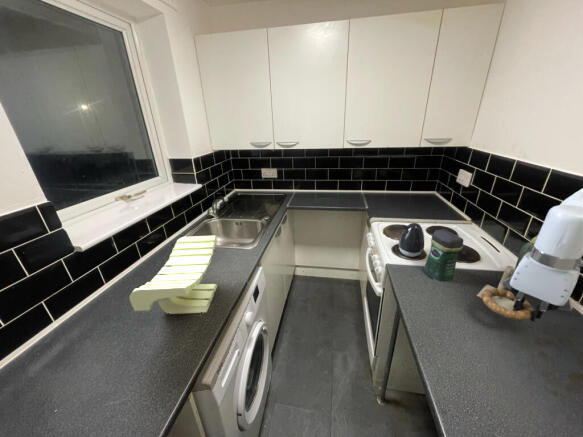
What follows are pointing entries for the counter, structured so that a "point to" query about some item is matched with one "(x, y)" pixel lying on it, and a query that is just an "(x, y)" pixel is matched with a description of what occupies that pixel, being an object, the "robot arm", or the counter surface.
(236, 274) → the counter surface
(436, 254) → the coffee jar
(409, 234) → the black egg shaped dome
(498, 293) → the ring
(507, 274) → the post
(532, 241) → the vegetable
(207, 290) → the slatted lounge chair
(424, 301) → the counter surface
